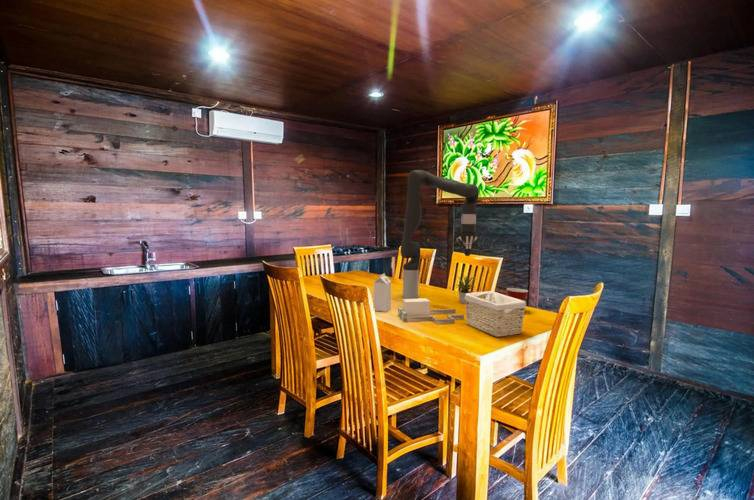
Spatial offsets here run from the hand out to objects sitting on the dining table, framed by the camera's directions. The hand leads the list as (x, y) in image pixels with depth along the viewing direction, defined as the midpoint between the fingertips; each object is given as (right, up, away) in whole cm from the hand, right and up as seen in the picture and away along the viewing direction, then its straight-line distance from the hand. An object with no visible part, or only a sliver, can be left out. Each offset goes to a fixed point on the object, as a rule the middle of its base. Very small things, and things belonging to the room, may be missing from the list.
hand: (467, 255), depth 204 cm
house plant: (+4, -27, +18) cm, 33 cm away
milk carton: (-45, -29, +1) cm, 53 cm away
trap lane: (-21, -30, -12) cm, 39 cm away
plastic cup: (+26, -29, 0) cm, 39 cm away
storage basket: (+5, -33, -29) cm, 44 cm away
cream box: (-28, -30, -13) cm, 44 cm away
